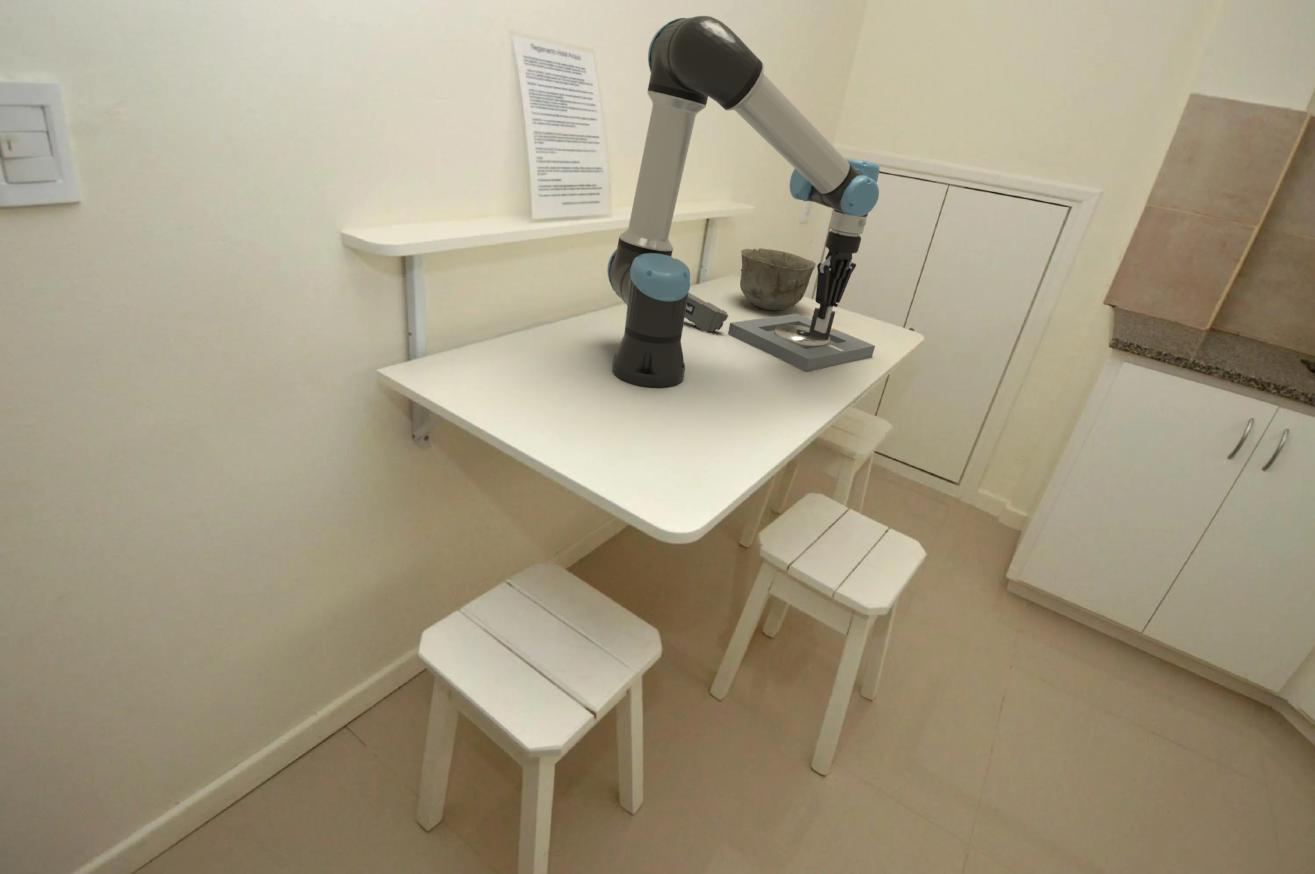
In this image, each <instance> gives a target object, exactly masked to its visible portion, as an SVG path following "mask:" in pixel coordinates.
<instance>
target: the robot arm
mask: <svg viewBox="0 0 1315 874" xmlns="http://www.w3.org/2000/svg"><path fill="white" fill-rule="evenodd" d="M647 63H648V69H649V71H650V76H649V83H648V86H647V90H646V91H647V94H648V97H649V98H650V100H651V103H652V108H651V112H650V117H649V123H648V127H647V132H646V138H645V143H644V148H643V153H642V158H641V163H640V167H639V173H638V178H637V182H636V188H635V192H634V197H633V204H632V207H631V213H630V219H629V223H628V227H627V229H626V230H625V231H623V232H622V233H620V234H619V236H618V240H617V247H616V249H615V250H614V251H613V252H612V254H610V255H611V256H610V258H609V260H608V263H607V269H606V270H607V271H606V272H607V278H608V281H609V283H610V286H611V288H612V290H613V291H614V293H615V295H616V296H618V297H619V298H620V299H621V300H622V301H623V303H624V304H625V305H626V313H625V314H626V316H625V326H624V333H623V337H622V339H621V341H620V343H619V346H618V348H617V351H616V353H615V354H614V356H613V359H612V369H611V370H612V372H613V373H614V375H615V376H616V377H617V378H619V379H621V380H623V381H624V382H626V383H627V382H628V383H630V384H634V385H636V386H637V385H638V386H641V387H649V388H650V387H651V388H667V387H672V386H676V385H678V384H681V382H683V380H684V378H685V372H686V365H685V363H684V362H685V361H684V359H685V358H684V354H683V353H684V352H683V349H682V336H683V331H684V330H683V329H684V322H685V311H686V305H687V299H688V292H689V291H690V288H691V272H690V268H689V266H688V265H686V263H685V262H683V261H681V260H680V259H679V258H675V257H673V256H672V254H673V250H674V247H673V245H672V244H671V242H670V240H669V235H670V233H671V232H670V230H671V227H672V223H673V219H674V213H675V210H676V209H675V208H676V205H677V200H678V196H679V191H680V187H681V183H682V178H683V173H684V170H685V169H684V168H685V165H686V159H687V155H688V152H689V147H690V143H691V137H692V134H693V130H694V125H695V121H696V117H697V114H699V113H700V112H701V111H703V110H704V109H706V107H707V103H708V99H709V98H710V99H712V100H713V101H714V102H716V103H717V104H718V105H720V107H721V108H723V110H724V111H727V112H728V111H735V112H736V113H737V114H738V115H739V116H740V117H741V118H742V119H743V120H744V121H745V122H746V123H747V124H749V126H750V127H751V128H752V129H753V130H754V131H755V132H756V133H758V134H759V135H760V137H762V138H763V139H764V140H765V141H766V142H767V144H769V145H770V146H771V147H772V148H773V149H774V150H775V151H777V153H778V154H779V155H781V156H782V158H784V159H785V160H786V161H787V162H788V164H790V165H791V166H792V167H793V168H794V169H793V170H792V173H791V175H790V178H789V179H790V180H789V191H790V192H789V193H790V195H791V196H792V198H794V199H795V200H799V201H803V202H812V203H813V202H814V203H817V204H819V205H821V206H824V207H827V208H831V209H833V213H832V217H831V221H830V225H829V228H830V229H831V230H830V231H828V233H827V237H826V242H825V247H826V248H827V249H828V253H827V254H826V256H825V261H823V263H820V262H818V264H816V268H817V281H816V289H815V291H816V292H815V299H814V300H815V303H817V305H819V312H818V317H817V321H816V325H815V329H814V330H816V331H819V332H821V333H826V330H827V327H828V323H829V319H830V316H831V312H832V311H833V308H838V306H839V304H840V303H841V300H842V299H843V295H844V293H845V290H846V288H847V285H848V283H849V280H850V278H851V276H852V273H853V272H854V271H855V269H856V267H857V263H854V262H852V260H853V254H857V253H858V252H859V248H860V245H861V242H862V237H861V236H860V235H863V233H864V229H865V226H866V225H867V218H868V215H869V213H870V212H871V211H872V210H873V209H874V207H875V206H876V205H877V204H878V202H879V201H878V200H879V197H880V188H879V185H878V179H879V175H880V173H879V172H880V165H879V164H878V163H877V162H873V161H869V160H861V159H854V158H848V159H846V158H845V157H844V156H843V155H842V154H841V153H840V152H839V151H838V150H837V149H836V148H835V147H834V146H833V145H832V143H831V142H830V141H829V140H828V139H827V138H826V137H825V136H824V135H823V134H822V133H821V132H820V131H819V130H818V128H817V127H815V126H814V125H813V124H812V122H811V121H809V119H808V118H807V117H806V116H805V115H804V114H803V113H802V112H801V111H800V109H798V108H797V107H796V105H794V104H793V102H792V101H790V99H789V98H788V97H787V96H786V95H785V94H784V93H783V92H782V91H781V90H780V89H779V88H778V87H777V86H776V85H775V84H774V82H773V81H771V79H770V78H769V77H768V76H767V75H766V74H765V73H764V71H765V64H764V63H763V62H762V61H761V59H759V57H758V56H757V55H756V54H755V53H754V52H753V51H752V50H751V49H750V48H749V47H748V46H747V44H746V43H744V41H742V39H741V38H740V37H739V36H738V35H737V34H736V33H735V32H734V31H733V30H732V29H731V28H730V26H727V25H726V24H725V23H723V21H721V20H719V19H717V18H715V17H713V16H709V15H698V16H697V15H696V16H693V17H679V18H675V19H673V20H670V21H669V22H667V23H665V24H664V25H662V27H660V29H658V30H657V31H656V32H655V34H654V36H653V37H652V39H651V41H650V44H649V48H648V53H647ZM689 293H690V292H689Z"/></svg>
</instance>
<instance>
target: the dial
mask: <svg viewBox="0 0 1315 874" xmlns="http://www.w3.org/2000/svg"><path fill="white" fill-rule="evenodd" d="M819 308H820V307H819ZM819 308H818V307H814V311H813V314H812V319H811V320H812V322H811V326H810V327H805V326H800V325H779V326H777V327H775V330H774V335H776V336H778V337H781V338H783V339H785V340H787V341H790V342H792V343H794V344H796V345H798V346H801V347H803V348H805V349H809V348H814V347H820V346H825V345H829V343H830V337H829V335H830V331H831V328H833V322H834V319H835V314H836V311H835V310H834V311H833V310H832V312H831V316H830V319H829V323H828V327H827V330H826V333H821V332H819V331H816V330H814V329H815V325H816V321H817V317H818V312H819Z"/></svg>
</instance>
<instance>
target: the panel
mask: <svg viewBox="0 0 1315 874" xmlns="http://www.w3.org/2000/svg"><path fill="white" fill-rule="evenodd" d="M811 322H812V319H811V318H808V317H806V316H804V315H801V314H800V313H792V314H790V313H789V314H786V315H783V314H782V315H778V316H769V317H763V318H756V319H747V320H739V321H733V322H729V327H728V331H727V332H728V333H727V335H729V336H731V337H733V338H736V339H738V340H740V341H741V342H744V343H746V344H747V345H749V346H751V347H754V348H757V350H760V351H762V352H765V353H766V354H769V355H771V356H772V357H775V358H777V359H779V360H781V361H783V362H785V363H787V364H789V365H792V366H794V367H795V368H798V369H800V370H801V371H804V372H810V371H815V370H819V369H823V368H828V367H833V366H836V365H841V364H847V363H851V362H855V361H859V360H864V359H869V358H872V357H873V354H874V351H875V349H876V345H874V344H872V343H870V342H867V341H864V340H863V339H860V338H857V337H855V336H853V335H850V334H848V333H845V332H843V331H840V330H838V329H836V328H833V327H831V331H830V335H829V337H830V343H829V345H825V346H820V347H814V348H809V349H805V348H803V347H801V346H798V345H796V344H794V343H792V342H790V341H787V340H785V339H783V338H781V337H778V336H776V335H774V330H775V327H777V326H779V325H800V326H805V327H810V326H811Z"/></svg>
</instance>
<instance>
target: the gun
mask: <svg viewBox="0 0 1315 874" xmlns="http://www.w3.org/2000/svg"><path fill="white" fill-rule="evenodd" d="M728 318H729V313H728V312H727V311H725V310H724V309H721V308H720V307H718V306H716V305H715V304H713V303H711V302H706V301H705V300H702V299H701V298H699V297H698V296H695V295H694V294H692V293H691V292H688V299H687V305H686V311H685V317H684V319H686V320H688V321H689V322H691V323H693V324H694V326H695V327H697V328H698V329H699V330H700V331H701V332H705V333H709V332H710V333H712V332H715V331H716V330H717V331H720V330H721V329H722V327H723V326H724V322H726V321H727V319H728Z"/></svg>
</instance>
